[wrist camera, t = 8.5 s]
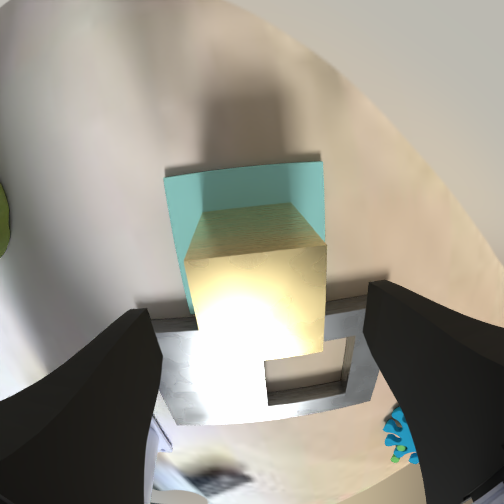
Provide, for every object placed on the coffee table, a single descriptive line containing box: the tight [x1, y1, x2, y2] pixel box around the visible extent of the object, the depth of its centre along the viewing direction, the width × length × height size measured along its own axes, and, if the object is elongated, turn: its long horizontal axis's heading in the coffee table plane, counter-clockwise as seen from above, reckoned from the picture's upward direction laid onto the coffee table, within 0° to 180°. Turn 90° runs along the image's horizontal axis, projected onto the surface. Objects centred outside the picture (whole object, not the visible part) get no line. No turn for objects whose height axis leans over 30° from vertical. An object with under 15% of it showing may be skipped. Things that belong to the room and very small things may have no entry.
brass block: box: [184, 202, 327, 365], centre depth 12 cm, size 4×4×6 cm
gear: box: [383, 407, 419, 464], centre depth 22 cm, size 11×6×10 cm
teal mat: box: [163, 161, 325, 314], centre depth 15 cm, size 8×8×1 cm
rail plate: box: [151, 295, 379, 425], centre depth 19 cm, size 16×10×1 cm, turn 95°
